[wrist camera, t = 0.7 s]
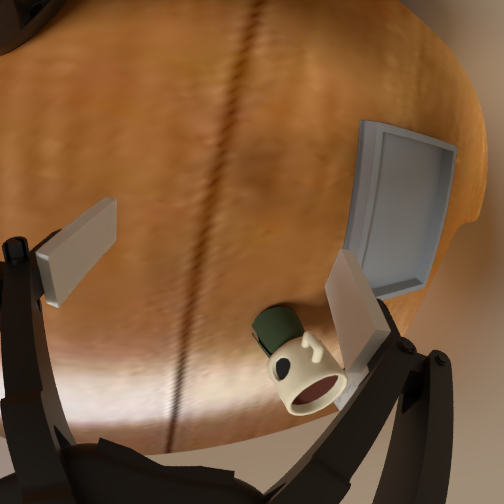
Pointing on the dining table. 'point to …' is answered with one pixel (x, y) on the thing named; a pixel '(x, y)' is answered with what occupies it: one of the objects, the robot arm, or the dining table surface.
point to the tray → (398, 206)
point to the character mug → (298, 362)
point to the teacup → (350, 387)
